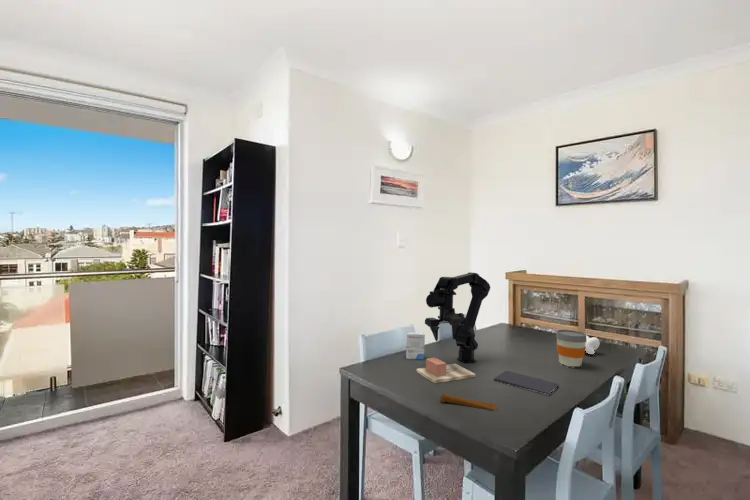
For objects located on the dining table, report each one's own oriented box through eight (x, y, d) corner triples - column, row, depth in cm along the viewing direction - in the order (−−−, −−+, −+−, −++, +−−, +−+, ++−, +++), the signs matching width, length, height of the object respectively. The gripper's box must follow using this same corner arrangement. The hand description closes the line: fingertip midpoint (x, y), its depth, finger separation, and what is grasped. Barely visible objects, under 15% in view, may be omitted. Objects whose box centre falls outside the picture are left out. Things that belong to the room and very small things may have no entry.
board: (455, 366, 168) (455, 363, 168) (475, 376, 155) (475, 374, 155) (416, 371, 160) (416, 368, 160) (434, 383, 147) (434, 380, 147)
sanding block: (434, 369, 160) (435, 357, 160) (445, 375, 153) (446, 363, 153) (425, 370, 158) (426, 358, 158) (436, 376, 151) (437, 364, 151)
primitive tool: (496, 405, 129) (496, 395, 129) (498, 412, 124) (499, 402, 124) (440, 400, 133) (440, 390, 133) (440, 407, 127) (440, 396, 127)
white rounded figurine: (590, 350, 198) (591, 333, 198) (605, 357, 186) (606, 339, 186) (570, 349, 198) (570, 333, 198) (583, 357, 186) (584, 339, 186)
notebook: (493, 381, 152) (549, 397, 137) (493, 378, 152) (549, 393, 137) (506, 373, 161) (559, 387, 147) (506, 370, 161) (559, 383, 147)
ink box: (423, 356, 181) (424, 332, 181) (424, 359, 176) (424, 334, 176) (406, 355, 182) (406, 331, 182) (406, 358, 177) (406, 334, 177)
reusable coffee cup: (567, 370, 166) (569, 336, 165) (549, 361, 178) (550, 330, 178) (592, 369, 168) (593, 336, 168) (572, 360, 181) (573, 329, 180)
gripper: (438, 309, 155) (437, 347, 155) (474, 307, 162) (473, 343, 163) (424, 305, 165) (423, 340, 166) (459, 303, 173) (458, 336, 173)
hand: (445, 340), depth 166 cm, fingers open, 9 cm apart
